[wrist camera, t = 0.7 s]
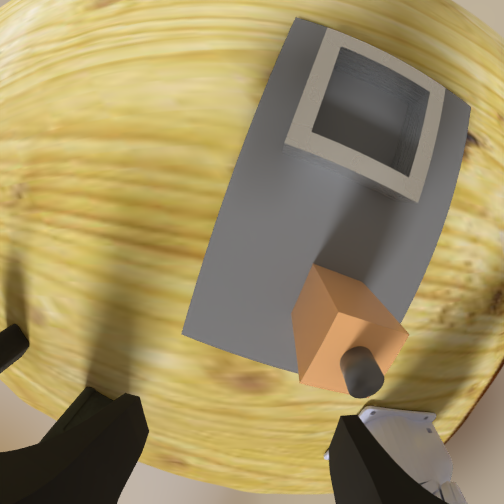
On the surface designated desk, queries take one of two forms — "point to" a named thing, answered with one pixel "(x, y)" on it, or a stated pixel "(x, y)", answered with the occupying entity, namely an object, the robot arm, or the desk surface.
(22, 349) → the walkie-talkie
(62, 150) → the desk surface
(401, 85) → the end holder
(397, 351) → the connector plug
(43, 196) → the desk surface
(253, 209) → the mat
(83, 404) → the black nozzle bottle
